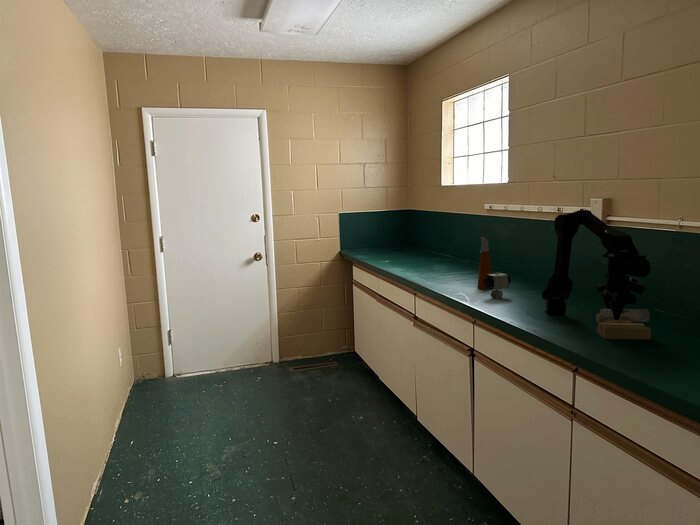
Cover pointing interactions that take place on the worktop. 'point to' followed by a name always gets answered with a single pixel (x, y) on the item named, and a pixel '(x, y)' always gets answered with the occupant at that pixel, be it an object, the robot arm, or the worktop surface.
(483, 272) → the spray bottle
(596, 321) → the bore beam
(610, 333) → the v block
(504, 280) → the pneumatic valve
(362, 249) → the worktop surface
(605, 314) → the axle
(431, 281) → the worktop surface
